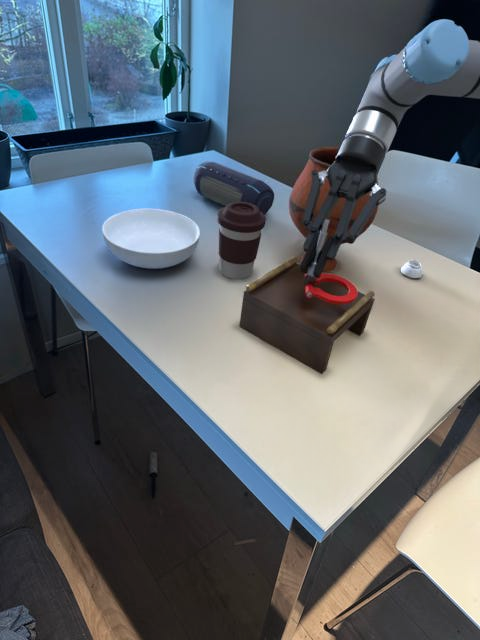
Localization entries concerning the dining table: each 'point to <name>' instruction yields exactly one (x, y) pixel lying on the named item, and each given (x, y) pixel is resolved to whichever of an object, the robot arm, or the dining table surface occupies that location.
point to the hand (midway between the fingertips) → (309, 272)
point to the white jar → (412, 269)
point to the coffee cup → (239, 238)
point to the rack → (301, 315)
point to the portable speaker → (231, 186)
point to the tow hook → (326, 277)
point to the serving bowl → (151, 237)
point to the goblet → (323, 198)
